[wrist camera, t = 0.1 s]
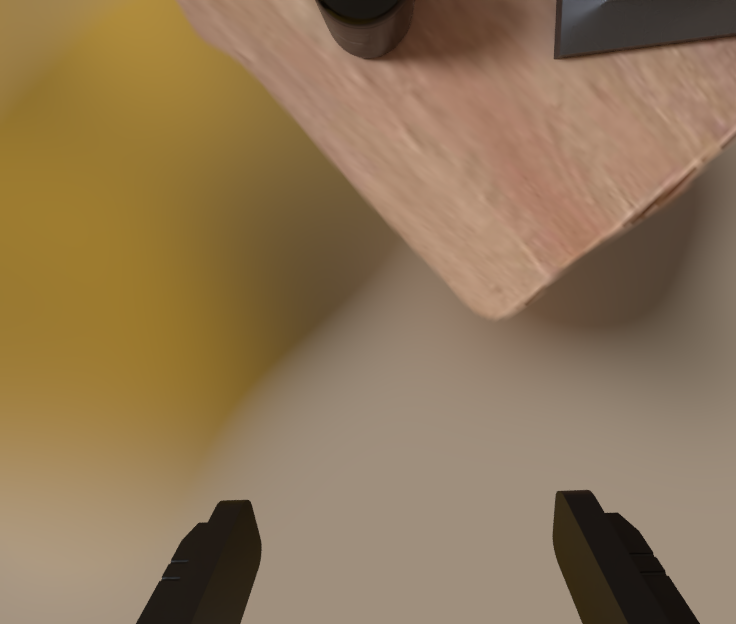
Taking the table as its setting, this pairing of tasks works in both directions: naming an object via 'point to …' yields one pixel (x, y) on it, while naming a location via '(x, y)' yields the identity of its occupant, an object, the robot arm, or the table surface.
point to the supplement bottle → (367, 24)
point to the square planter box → (638, 24)
